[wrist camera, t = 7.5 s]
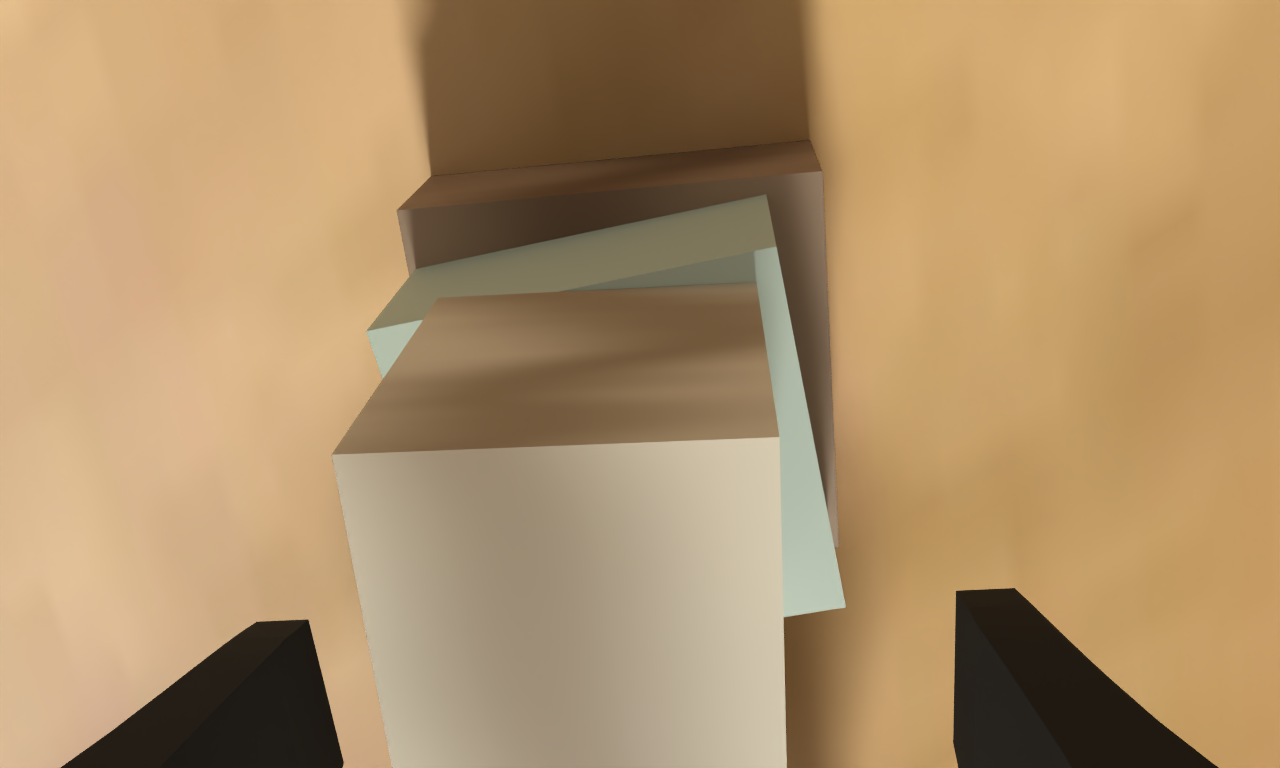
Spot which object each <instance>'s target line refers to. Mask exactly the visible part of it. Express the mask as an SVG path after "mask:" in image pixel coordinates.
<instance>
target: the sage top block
mask: <svg viewBox="0 0 1280 768" xmlns="http://www.w3.org/2000/svg"><path fill="white" fill-rule="evenodd" d="M747 282H756V283H757V290H758V296H759V303H760V310H761V316H762V323H763V330H764V336H765V343H766V350H767V356H768V363H769V370H770V376H771V383H772V390H773V397H774V403H775V410H776V417H777V423H778V430H779V437H780V480H781V526H782V572H783V617H788V616H795V615H801V614H807V613H813V612H820V611H826V610H832V609H838V608H845V607H846V605H845V600H844V595H843V590H842V584H841V579H840V574H839V569H838V564H837V558H836V553H835V548H834V543H833V538H832V532H831V527H830V522H829V517H828V512H827V506H826V501H825V496H824V491H823V486H822V481H821V475H820V470H819V465H818V460H817V455H816V449H815V444H814V439H813V434H812V429H811V423H810V418H809V413H808V408H807V403H806V397H805V392H804V387H803V382H802V377H801V371H800V366H799V361H798V356H797V351H796V345H795V340H794V335H793V330H792V325H791V320H790V314H789V309H788V304H787V299H786V294H785V288H784V283H783V278H782V273H781V268H780V262H779V257H778V252H777V247H776V242H775V237H774V231H773V226H772V221H771V216H770V211H769V206H768V201H767V196H766V194H765V195H760V196H756V197H751V198H746V199H742V200H737V201H732V202H727V203H723V204H718V205H713V206H709V207H704V208H699V209H695V210H690V211H685V212H681V213H676V214H671V215H666V216H662V217H657V218H652V219H648V220H643V221H638V222H634V223H629V224H624V225H619V226H615V227H610V228H605V229H601V230H596V231H591V232H587V233H582V234H577V235H573V236H568V237H563V238H558V239H554V240H549V241H544V242H540V243H535V244H530V245H526V246H521V247H516V248H511V249H507V250H502V251H497V252H493V253H488V254H483V255H479V256H474V257H469V258H465V259H460V260H455V261H450V262H446V263H441V264H436V265H432V266H427V267H422V268H418V269H415V271H414V272H413V273H412V274H411V276H410V277H409V278H408V279H407V281H406V282H405V283H404V284H403V286H402V287H401V288H400V289H399V291H398V292H397V293H396V294H395V296H394V297H393V298H392V300H391V301H390V302H389V303H388V305H387V306H386V307H385V308H384V310H383V311H382V312H381V313H380V315H379V316H378V317H377V318H376V320H375V321H374V322H373V323H372V325H371V326H370V327H369V328H368V330H367V331H366V332H367V335H368V338H369V341H370V344H371V346H372V349H373V352H374V355H375V358H376V361H377V364H378V367H379V369H380V372H381V375H382V378H384V377H385V375H386V374H387V372H388V371H389V369H390V368H391V367H392V365H393V364H394V362H395V361H396V359H397V358H398V356H399V355H400V353H401V352H402V350H403V349H404V347H405V346H406V344H407V343H408V341H409V340H410V338H411V337H412V336H413V334H414V333H415V331H416V330H417V328H418V327H419V325H420V324H421V322H422V321H423V319H424V318H425V316H426V315H427V313H428V312H429V310H430V309H431V308H432V306H433V305H434V303H435V302H436V300H437V299H438V298H442V297H462V296H483V295H503V294H523V293H543V292H564V291H584V290H604V289H625V288H645V287H665V286H686V285H706V284H726V283H747Z"/></svg>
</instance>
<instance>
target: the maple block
mask: <svg viewBox="0 0 1280 768" xmlns="http://www.w3.org/2000/svg"><path fill="white" fill-rule="evenodd" d="M332 459H333V464H334V469H335V475H336V480H337V485H338V490H339V495H340V500H341V506H342V511H343V516H344V521H345V526H346V532H347V537H348V542H349V547H350V552H351V557H352V563H353V568H354V573H355V578H356V583H357V589H358V594H359V599H360V604H361V609H362V615H363V620H364V625H365V630H366V635H367V640H368V646H369V651H370V656H371V661H372V666H373V672H374V677H375V682H376V687H377V692H378V697H379V703H380V708H381V713H382V718H383V723H384V729H385V734H386V739H387V744H388V749H389V754H390V760H391V765H392V768H787V756H786V710H785V664H784V618H783V572H782V526H781V480H780V437H779V430H778V423H777V417H776V410H775V403H774V397H773V390H772V383H771V376H770V370H769V363H768V356H767V350H766V343H765V336H764V330H763V323H762V316H761V310H760V303H759V296H758V290H757V283H756V282H747V283H726V284H706V285H686V286H665V287H645V288H625V289H604V290H584V291H564V292H543V293H523V294H503V295H483V296H462V297H442V298H438V299H437V300H436V302H435V303H434V305H433V306H432V308H431V309H430V310H429V312H428V313H427V315H426V316H425V318H424V319H423V321H422V322H421V324H420V325H419V327H418V328H417V330H416V331H415V333H414V334H413V336H412V337H411V338H410V340H409V341H408V343H407V344H406V346H405V347H404V349H403V350H402V352H401V353H400V355H399V356H398V358H397V359H396V361H395V362H394V364H393V365H392V367H391V368H390V369H389V371H388V372H387V374H386V375H385V377H384V378H383V380H382V381H381V383H380V384H379V386H378V387H377V389H376V390H375V392H374V393H373V395H372V396H371V397H370V399H369V400H368V402H367V403H366V405H365V406H364V408H363V409H362V411H361V412H360V414H359V415H358V417H357V418H356V420H355V421H354V423H353V424H352V426H351V427H350V428H349V430H348V431H347V433H346V434H345V436H344V437H343V439H342V440H341V442H340V443H339V445H338V446H337V448H336V449H335V451H334V452H333V454H332Z"/></svg>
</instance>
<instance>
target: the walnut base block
mask: <svg viewBox="0 0 1280 768" xmlns="http://www.w3.org/2000/svg"><path fill="white" fill-rule="evenodd" d="M765 194H766V196H767V201H768V206H769V211H770V216H771V221H772V226H773V231H774V237H775V242H776V247H777V252H778V257H779V262H780V268H781V273H782V278H783V283H784V288H785V294H786V299H787V304H788V309H789V314H790V320H791V325H792V330H793V335H794V340H795V345H796V351H797V356H798V361H799V366H800V371H801V377H802V382H803V387H804V392H805V397H806V403H807V408H808V413H809V418H810V423H811V429H812V434H813V439H814V444H815V449H816V455H817V460H818V465H819V470H820V475H821V481H822V486H823V491H824V496H825V501H826V506H827V512H828V517H829V522H830V527H831V532H832V538H833V543H834V548H838V547H839V537H838V515H837V492H836V470H835V447H834V424H833V402H832V379H831V357H830V334H829V311H828V289H827V266H826V244H825V221H824V198H823V176H822V169H821V167H820V164H819V162H818V159H817V157H816V154H815V152H814V149H813V147H812V144H811V142H810V140H806V141H796V142H785V143H775V144H764V145H754V146H744V147H733V148H723V149H712V150H702V151H691V152H681V153H670V154H660V155H649V156H639V157H628V158H618V159H607V160H597V161H586V162H576V163H565V164H555V165H545V166H534V167H524V168H513V169H503V170H492V171H482V172H471V173H461V174H450V175H440V176H431V177H430V178H429V179H428V180H427V181H426V182H425V183H424V184H423V185H422V186H421V187H420V188H419V189H418V190H417V191H416V192H415V193H414V194H413V195H412V196H411V197H410V198H409V199H408V200H407V201H406V202H405V203H404V204H403V205H402V206H401V207H400V208H399V209H398V210H397V215H398V220H399V225H400V230H401V235H402V241H403V246H404V251H405V256H406V261H407V266H408V271H409V276H411V274H412V273H413V272H414V271H415V269H418V268H422V267H427V266H432V265H436V264H441V263H446V262H450V261H455V260H460V259H465V258H469V257H474V256H479V255H483V254H488V253H493V252H497V251H502V250H507V249H511V248H516V247H521V246H526V245H530V244H535V243H540V242H544V241H549V240H554V239H558V238H563V237H568V236H573V235H577V234H582V233H587V232H591V231H596V230H601V229H605V228H610V227H615V226H619V225H624V224H629V223H634V222H638V221H643V220H648V219H652V218H657V217H662V216H666V215H671V214H676V213H681V212H685V211H690V210H695V209H699V208H704V207H709V206H713V205H718V204H723V203H727V202H732V201H737V200H742V199H746V198H751V197H756V196H760V195H765Z"/></svg>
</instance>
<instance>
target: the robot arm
mask: <svg viewBox="0 0 1280 768" xmlns="http://www.w3.org/2000/svg"><path fill="white" fill-rule="evenodd" d="M953 744H954V748H955V753H956V758H957V763H958V768H1218V767H1217V766H1215V765H1214V764H1213V763H1211V762H1210V761H1209V760H1208V759H1206V758H1205V757H1204V756H1202V755H1201V754H1200V753H1199V752H1197V751H1196V750H1195V749H1193V748H1192V747H1191V746H1190V745H1188V744H1187V743H1186V742H1184V741H1183V740H1182V739H1181V738H1179V737H1178V736H1177V735H1175V734H1174V733H1173V732H1172V731H1170V730H1169V729H1168V728H1167V727H1165V726H1164V725H1163V724H1162V723H1160V722H1159V721H1158V720H1157V719H1156V718H1154V717H1153V716H1152V715H1151V714H1150V713H1148V712H1147V711H1146V710H1145V709H1144V708H1143V707H1142V706H1140V705H1139V704H1138V703H1137V702H1136V701H1135V700H1134V699H1133V698H1131V697H1130V696H1129V695H1128V694H1127V693H1126V692H1125V691H1123V690H1122V689H1121V688H1120V687H1119V686H1118V685H1117V684H1115V683H1114V682H1113V681H1112V680H1111V679H1110V678H1109V677H1108V676H1106V675H1105V674H1104V673H1103V672H1102V671H1101V670H1100V669H1099V668H1098V667H1097V666H1096V665H1094V664H1093V663H1092V662H1091V661H1090V660H1089V659H1088V658H1087V657H1086V656H1085V655H1084V654H1083V653H1082V652H1081V651H1080V650H1079V649H1078V648H1076V647H1075V646H1074V645H1073V644H1072V643H1071V642H1070V641H1069V640H1068V639H1067V638H1066V637H1065V636H1064V635H1063V634H1062V633H1061V632H1060V631H1059V630H1058V629H1057V628H1056V627H1055V626H1054V625H1053V624H1051V623H1050V622H1049V621H1048V620H1047V619H1046V618H1045V617H1044V616H1043V615H1042V614H1041V613H1040V612H1039V611H1038V610H1037V609H1036V608H1035V607H1034V606H1033V605H1032V604H1031V603H1030V602H1029V601H1028V600H1027V599H1026V598H1024V597H1023V596H1022V595H1021V594H1020V593H1019V592H1018V591H1017V590H1016V589H1015V588H1010V589H988V590H965V591H956V629H955V683H954V737H953ZM343 763H344V762H343V758H342V754H341V750H340V746H339V742H338V738H337V734H336V730H335V726H334V722H333V718H332V714H331V709H330V705H329V701H328V697H327V693H326V689H325V685H324V681H323V677H322V673H321V669H320V665H319V661H318V657H317V653H316V649H315V645H314V641H313V637H312V633H311V629H310V625H309V621H308V620H289V621H266V622H256V623H254V624H253V625H251V626H250V627H248V628H247V629H245V630H244V631H242V632H241V633H239V634H238V635H237V636H235V637H234V638H232V639H231V640H230V641H228V642H227V643H226V644H224V645H223V646H222V647H220V648H219V649H218V650H216V651H215V652H214V653H212V654H211V655H210V656H209V657H207V658H206V659H205V660H203V661H202V662H201V663H199V664H198V665H197V666H196V667H194V668H193V669H192V670H190V671H189V672H188V673H187V674H185V675H184V676H183V677H181V678H180V679H179V680H178V681H176V682H175V683H174V684H172V685H171V686H170V687H169V688H167V689H166V690H165V691H163V692H162V693H161V694H159V695H158V696H157V697H156V698H154V699H153V700H152V701H150V702H149V703H148V704H146V705H145V706H144V707H143V708H141V709H140V710H139V711H137V712H136V713H135V714H133V715H132V716H131V717H130V718H128V719H127V720H126V721H124V722H123V723H122V724H120V725H119V726H118V727H117V728H115V729H114V730H113V731H111V732H110V733H109V734H107V735H106V736H104V737H103V738H102V739H100V740H99V741H97V742H96V743H94V744H93V745H92V746H90V747H89V748H87V749H86V750H85V751H83V752H82V753H80V754H79V755H78V756H76V757H75V758H73V759H72V760H71V761H69V762H68V763H66V764H65V765H64V766H62V767H61V768H342V767H343Z"/></svg>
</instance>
